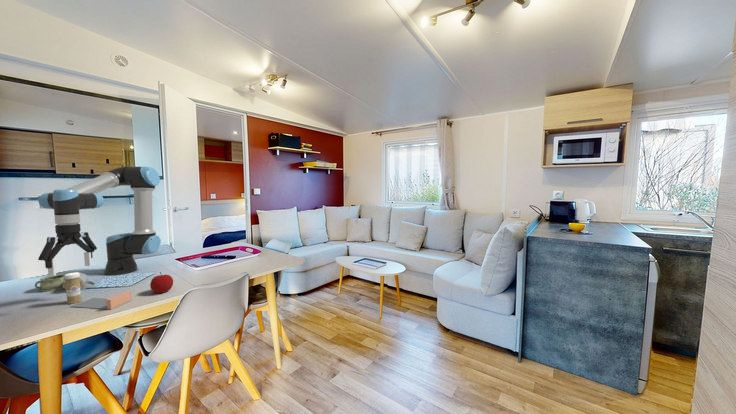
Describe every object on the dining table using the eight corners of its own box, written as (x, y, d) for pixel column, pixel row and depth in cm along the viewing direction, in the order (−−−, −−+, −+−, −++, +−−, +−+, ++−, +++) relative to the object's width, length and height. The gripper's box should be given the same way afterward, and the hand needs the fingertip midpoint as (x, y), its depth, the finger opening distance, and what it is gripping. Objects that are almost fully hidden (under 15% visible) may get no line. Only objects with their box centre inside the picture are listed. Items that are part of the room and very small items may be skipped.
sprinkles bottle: (70, 304, 120) (67, 275, 119) (64, 303, 122) (62, 274, 121) (83, 300, 124) (81, 272, 123) (78, 299, 126) (76, 271, 125)
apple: (149, 296, 130) (148, 276, 129) (152, 290, 137) (151, 271, 137) (172, 292, 135) (171, 273, 134) (174, 286, 142) (173, 268, 141)
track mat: (93, 298, 127) (92, 289, 127) (131, 300, 125) (130, 291, 125) (70, 306, 118) (69, 297, 118) (111, 309, 116) (110, 300, 116)
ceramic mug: (63, 293, 132) (62, 278, 132) (68, 288, 139) (67, 273, 138) (93, 289, 139) (92, 274, 138) (96, 284, 145) (96, 270, 144)
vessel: (34, 294, 130) (33, 282, 130) (36, 289, 136) (35, 277, 136) (70, 288, 139) (69, 276, 138) (71, 283, 145) (70, 272, 144)
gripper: (91, 220, 133) (94, 262, 134) (22, 227, 108) (26, 279, 110) (105, 220, 132) (107, 262, 134) (38, 228, 107) (42, 280, 109)
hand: (71, 270), depth 122 cm, fingers open, 13 cm apart
